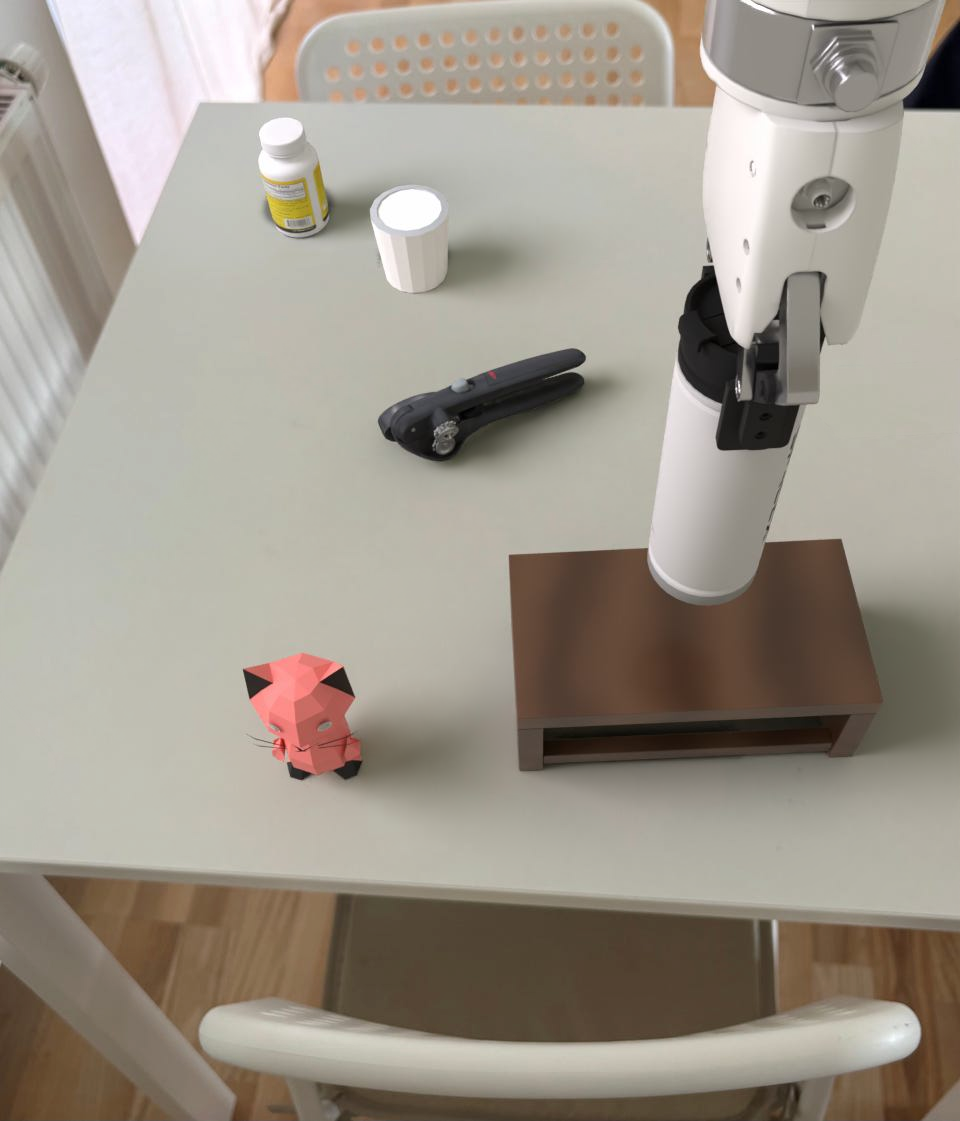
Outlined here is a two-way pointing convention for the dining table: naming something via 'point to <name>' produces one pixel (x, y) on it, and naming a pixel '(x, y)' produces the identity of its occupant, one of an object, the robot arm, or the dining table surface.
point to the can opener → (479, 403)
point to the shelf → (688, 656)
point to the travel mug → (711, 467)
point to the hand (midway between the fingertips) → (738, 383)
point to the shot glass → (412, 236)
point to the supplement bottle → (292, 178)
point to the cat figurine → (306, 714)
